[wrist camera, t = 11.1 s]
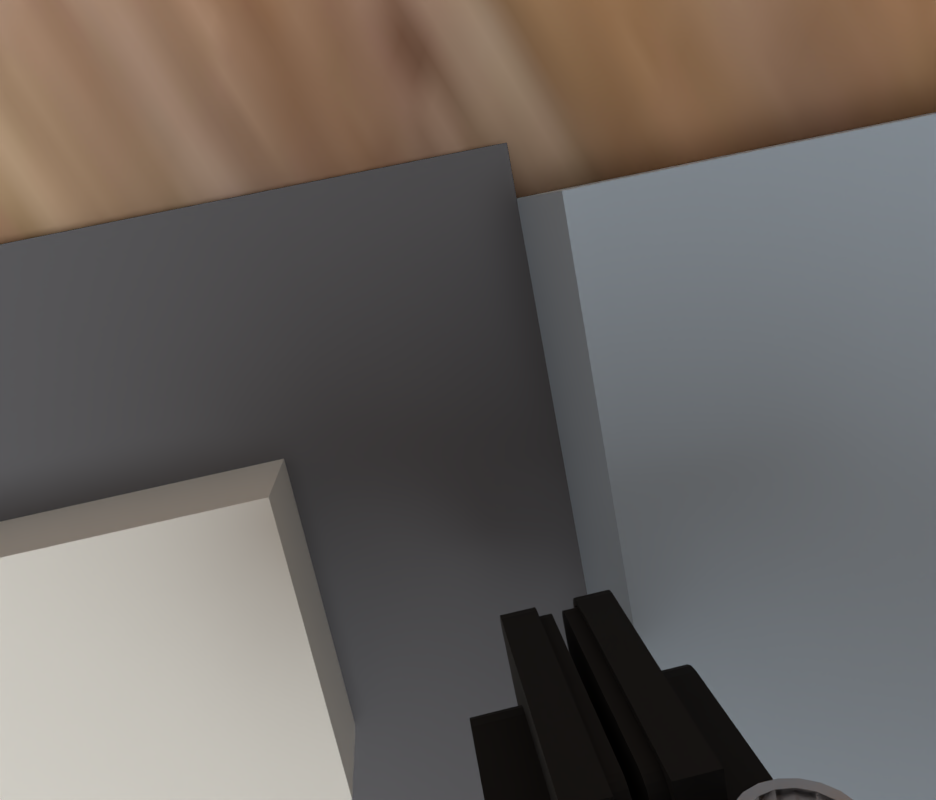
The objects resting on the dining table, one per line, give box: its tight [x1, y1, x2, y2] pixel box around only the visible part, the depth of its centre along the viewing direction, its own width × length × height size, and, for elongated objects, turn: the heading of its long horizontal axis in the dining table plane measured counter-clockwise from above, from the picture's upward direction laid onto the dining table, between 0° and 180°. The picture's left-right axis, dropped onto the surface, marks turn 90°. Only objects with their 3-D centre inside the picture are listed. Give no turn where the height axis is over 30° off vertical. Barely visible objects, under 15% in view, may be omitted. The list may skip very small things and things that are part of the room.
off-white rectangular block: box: [0, 459, 355, 800], centre depth 15 cm, size 8×6×2 cm
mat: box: [0, 143, 587, 800], centre depth 16 cm, size 14×16×1 cm
